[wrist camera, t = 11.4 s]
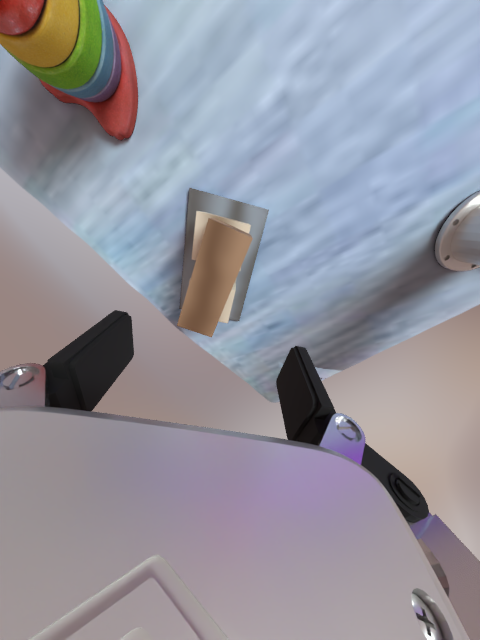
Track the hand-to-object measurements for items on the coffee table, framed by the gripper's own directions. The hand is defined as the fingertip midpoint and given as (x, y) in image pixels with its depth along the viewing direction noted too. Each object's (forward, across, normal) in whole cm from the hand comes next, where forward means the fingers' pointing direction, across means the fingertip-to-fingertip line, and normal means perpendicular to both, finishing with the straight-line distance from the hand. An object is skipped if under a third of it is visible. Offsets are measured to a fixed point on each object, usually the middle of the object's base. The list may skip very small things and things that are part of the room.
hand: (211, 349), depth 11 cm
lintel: (+18, +2, +1) cm, 18 cm away
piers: (+25, +2, +1) cm, 25 cm away
